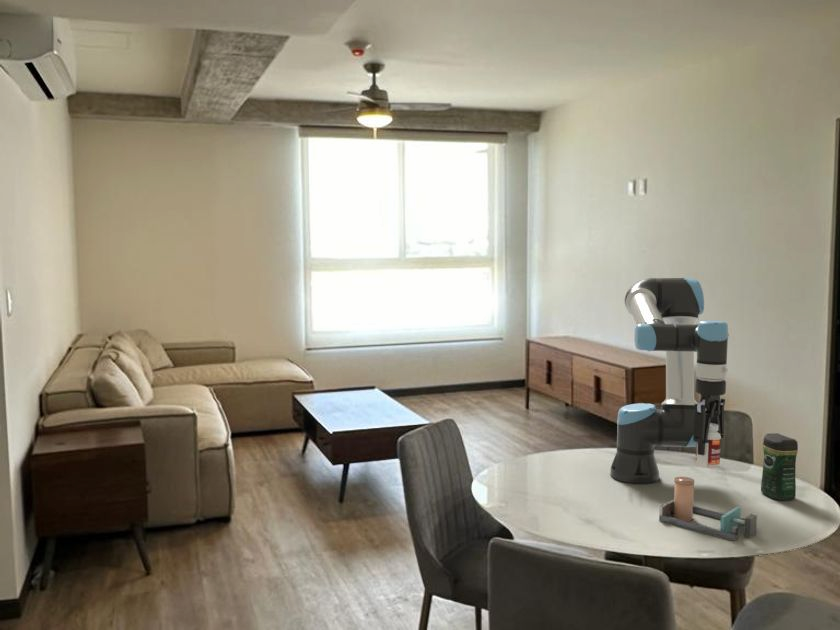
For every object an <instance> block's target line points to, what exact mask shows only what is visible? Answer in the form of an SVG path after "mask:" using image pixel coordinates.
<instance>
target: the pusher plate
mask: <svg viewBox="0 0 840 630" xmlns="http://www.w3.org/2000/svg"><path fill="white" fill-rule="evenodd" d="M741 512H742V507H741V506H735V507H734V508H732V509H731V510H729V511H728V512H726V513H725V515H723V516H721V519H720V529H719V530H722V531H726V532H729V533H731V532H732V527H734V526H736V527H738V528H739V526H741V524H745V525H744V531H743V533H744V534H743V535H744V537H746V538H748V539H751V538H752V537H754V536H756V535H757V521H758V519H757V518H758V517H757V516H758V515H756V514H753V513H750V514H749V515H747V516H745V517H744V518H745V520H741V519H740V517H741V515H742V514H741ZM741 518H742V517H741ZM740 523H741V524H740Z"/></svg>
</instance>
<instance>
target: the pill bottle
mask: <svg viewBox="0 0 840 630" xmlns="http://www.w3.org/2000/svg"><path fill="white" fill-rule="evenodd" d="M717 431H718V425H717V424H715V423H710V426H709V432H708V438H707V443H709V444H708V467H707V468H717V467H719V466H720V464H721V463H720V462H721V444H722V438H721V435H722V434H721V435H720V434H719V433H718V432H717ZM694 459H695V460H694V461H695V464H696V465H697V442H696V447H695V457H694Z"/></svg>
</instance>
